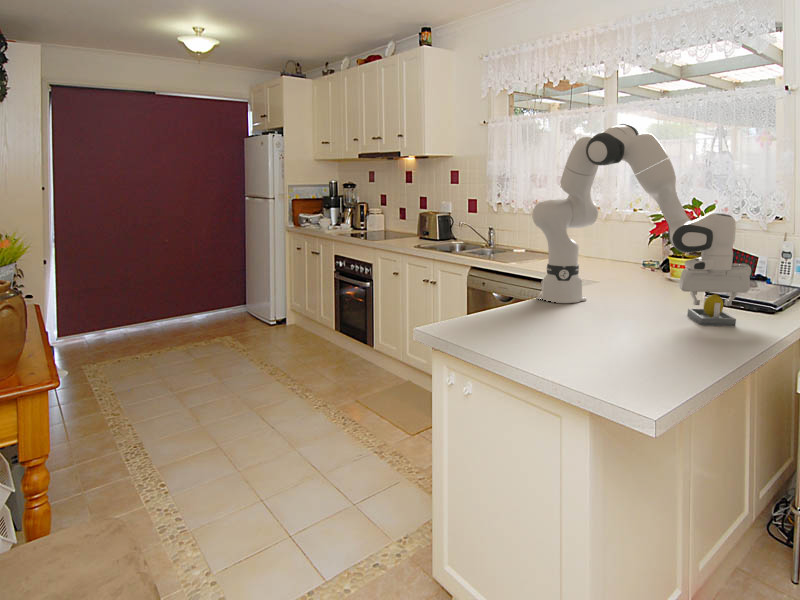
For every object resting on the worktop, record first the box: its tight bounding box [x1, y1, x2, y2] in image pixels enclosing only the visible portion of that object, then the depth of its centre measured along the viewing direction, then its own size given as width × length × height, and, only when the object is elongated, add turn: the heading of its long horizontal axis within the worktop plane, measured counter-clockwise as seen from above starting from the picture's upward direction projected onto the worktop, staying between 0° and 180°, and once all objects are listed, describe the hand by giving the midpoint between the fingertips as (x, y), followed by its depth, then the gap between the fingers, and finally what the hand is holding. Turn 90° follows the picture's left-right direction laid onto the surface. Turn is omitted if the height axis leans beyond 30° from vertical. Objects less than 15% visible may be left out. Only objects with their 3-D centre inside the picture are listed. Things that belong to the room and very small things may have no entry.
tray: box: [686, 296, 737, 327], centre depth 181 cm, size 14×10×7 cm
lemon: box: [703, 293, 724, 318], centre depth 180 cm, size 6×6×8 cm
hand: (712, 305), depth 181 cm, fingers open, 8 cm apart
